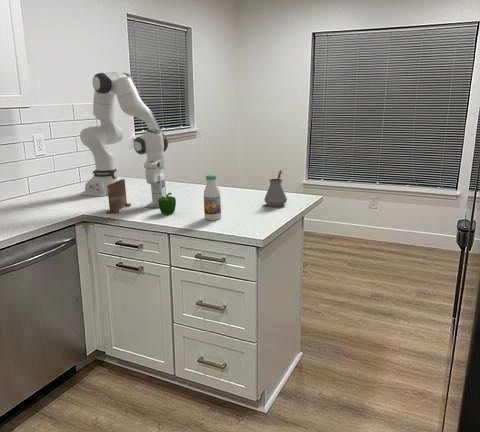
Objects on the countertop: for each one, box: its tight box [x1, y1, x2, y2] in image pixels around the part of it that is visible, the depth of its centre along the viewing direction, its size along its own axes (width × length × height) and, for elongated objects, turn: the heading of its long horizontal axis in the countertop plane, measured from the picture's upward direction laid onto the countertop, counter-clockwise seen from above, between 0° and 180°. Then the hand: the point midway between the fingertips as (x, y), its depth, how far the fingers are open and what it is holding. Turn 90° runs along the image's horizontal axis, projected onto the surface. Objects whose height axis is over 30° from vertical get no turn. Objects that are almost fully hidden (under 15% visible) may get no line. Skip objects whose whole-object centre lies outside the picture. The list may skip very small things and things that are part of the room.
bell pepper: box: [158, 192, 177, 216], centre depth 217 cm, size 8×8×10 cm
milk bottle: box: [203, 174, 222, 221], centre depth 206 cm, size 8×8×20 cm
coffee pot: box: [263, 170, 288, 208], centre depth 232 cm, size 21×12×15 cm, turn 165°
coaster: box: [144, 201, 160, 209], centre depth 235 cm, size 12×12×1 cm
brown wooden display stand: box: [105, 178, 132, 215], centre depth 227 cm, size 6×16×14 cm, turn 169°
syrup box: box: [150, 173, 167, 203], centre depth 232 cm, size 6×6×14 cm
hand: (158, 188), depth 233 cm, fingers closed on syrup box, 6 cm apart
